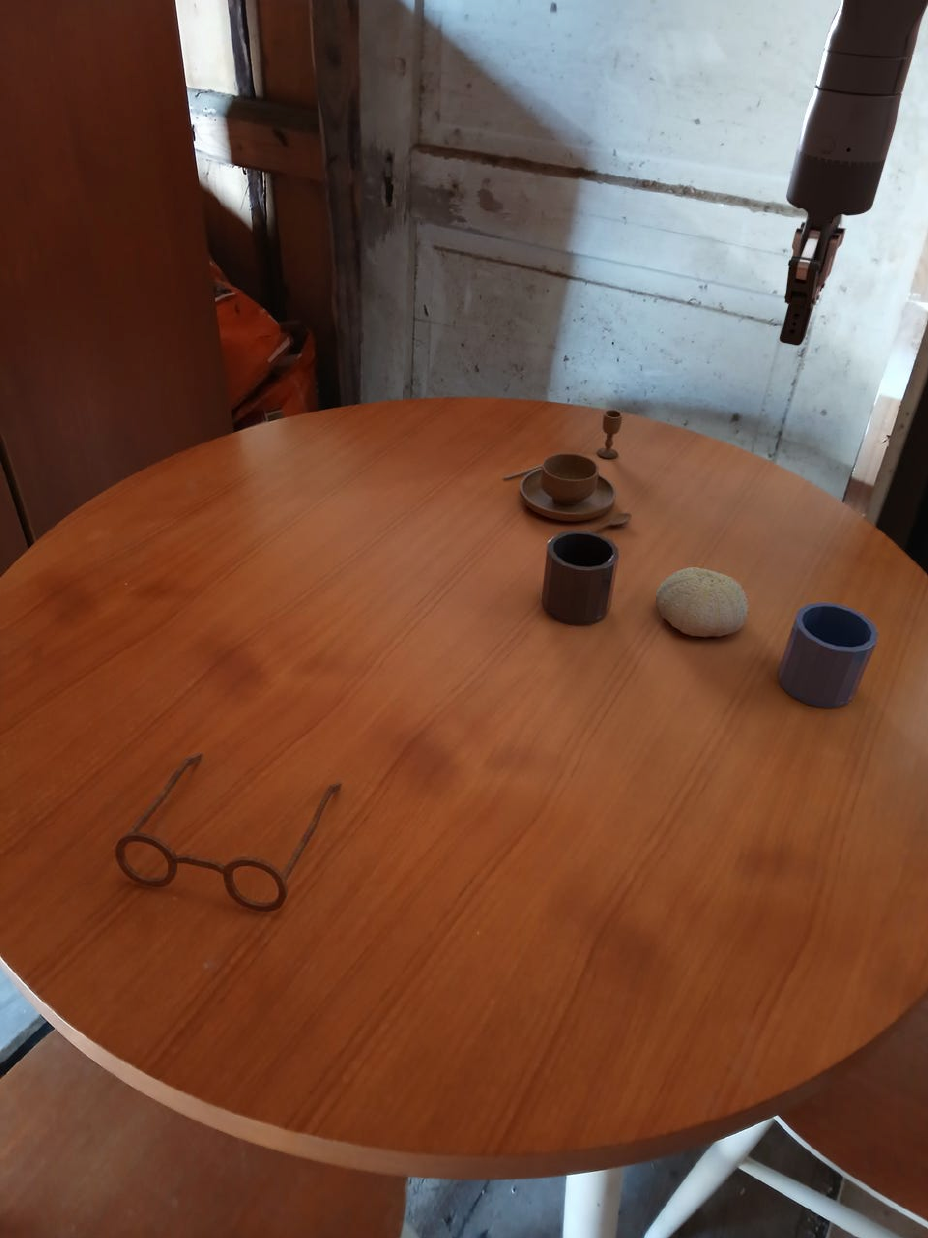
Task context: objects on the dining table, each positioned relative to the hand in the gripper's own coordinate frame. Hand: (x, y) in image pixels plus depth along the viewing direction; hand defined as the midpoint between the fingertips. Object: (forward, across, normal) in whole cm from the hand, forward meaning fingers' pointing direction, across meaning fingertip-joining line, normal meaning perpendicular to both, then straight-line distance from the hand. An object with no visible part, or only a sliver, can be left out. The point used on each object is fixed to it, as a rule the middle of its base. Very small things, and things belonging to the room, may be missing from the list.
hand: (791, 341), depth 90 cm
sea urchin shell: (+25, -15, 0) cm, 29 cm away
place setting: (+25, +4, +20) cm, 32 cm away
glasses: (+25, -60, +24) cm, 70 cm away
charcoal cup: (+25, -19, +12) cm, 34 cm away
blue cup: (+25, -19, -12) cm, 34 cm away
